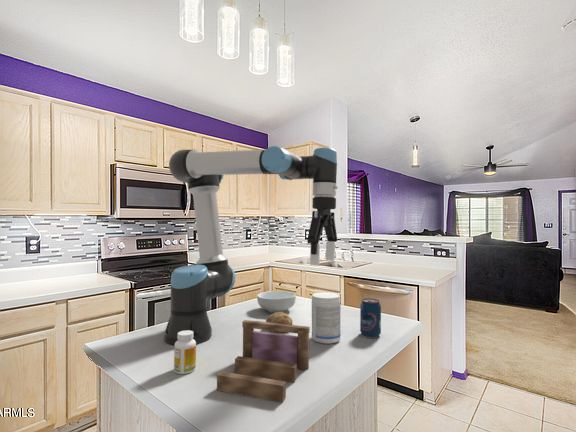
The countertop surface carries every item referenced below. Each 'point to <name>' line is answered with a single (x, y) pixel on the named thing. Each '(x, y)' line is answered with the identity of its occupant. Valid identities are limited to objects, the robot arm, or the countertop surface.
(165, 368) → the countertop surface
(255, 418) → the countertop surface
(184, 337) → the supplement bottle
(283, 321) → the bread roll
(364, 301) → the soda can
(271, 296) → the cereal bowl
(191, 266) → the robot arm
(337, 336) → the supplement tub
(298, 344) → the wooden rack
